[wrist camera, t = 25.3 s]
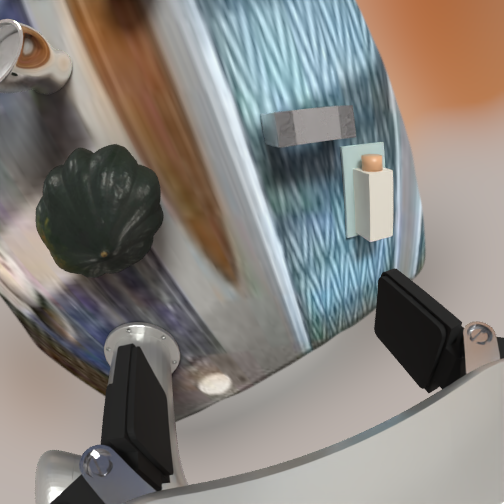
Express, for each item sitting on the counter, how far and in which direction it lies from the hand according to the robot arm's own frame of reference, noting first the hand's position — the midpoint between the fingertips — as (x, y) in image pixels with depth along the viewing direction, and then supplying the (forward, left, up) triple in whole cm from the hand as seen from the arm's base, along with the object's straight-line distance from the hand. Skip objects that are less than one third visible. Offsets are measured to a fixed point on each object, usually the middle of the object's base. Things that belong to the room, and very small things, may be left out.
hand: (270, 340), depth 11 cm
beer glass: (+20, +16, -31) cm, 40 cm away
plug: (-6, -23, -30) cm, 38 cm away
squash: (+1, +12, -31) cm, 33 cm away
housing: (+5, -14, -30) cm, 34 cm away
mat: (-6, -23, -30) cm, 39 cm away
